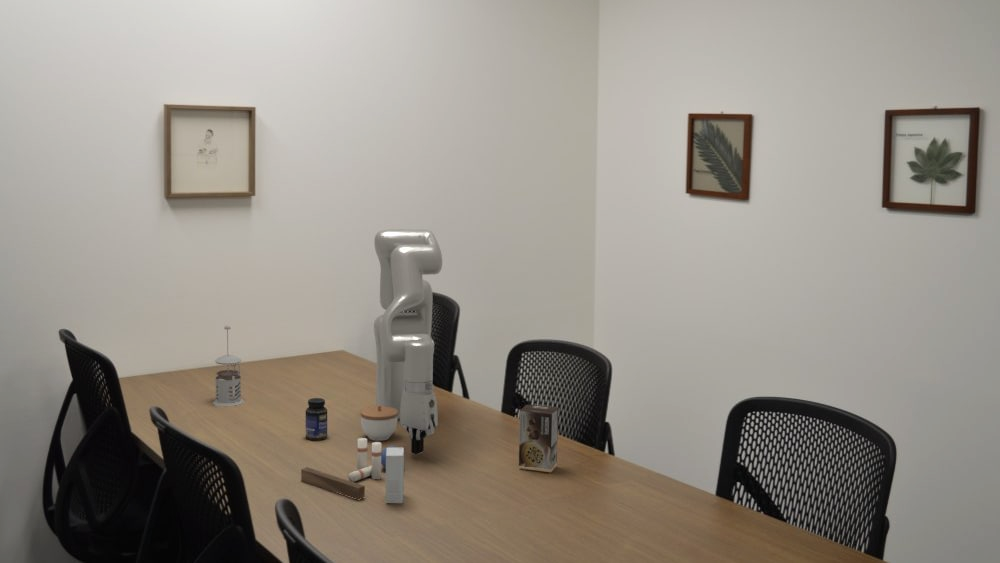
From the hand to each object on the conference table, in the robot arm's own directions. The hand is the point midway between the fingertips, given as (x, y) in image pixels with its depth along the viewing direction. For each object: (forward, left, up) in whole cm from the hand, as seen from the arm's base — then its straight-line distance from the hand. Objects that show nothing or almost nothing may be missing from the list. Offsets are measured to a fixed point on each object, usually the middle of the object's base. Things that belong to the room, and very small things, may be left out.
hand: (417, 452), depth 259 cm
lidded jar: (-6, -20, -2) cm, 21 cm away
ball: (+11, +1, +2) cm, 11 cm away
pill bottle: (+6, -33, -2) cm, 34 cm away
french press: (-1, -81, -2) cm, 81 cm away
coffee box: (-15, +29, -2) cm, 33 cm away
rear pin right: (+18, -2, -2) cm, 19 cm away
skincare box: (+26, +16, -2) cm, 31 cm away
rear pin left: (+18, +3, -2) cm, 19 cm away
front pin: (+16, 0, 0) cm, 16 cm away
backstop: (+31, 0, -2) cm, 31 cm away
